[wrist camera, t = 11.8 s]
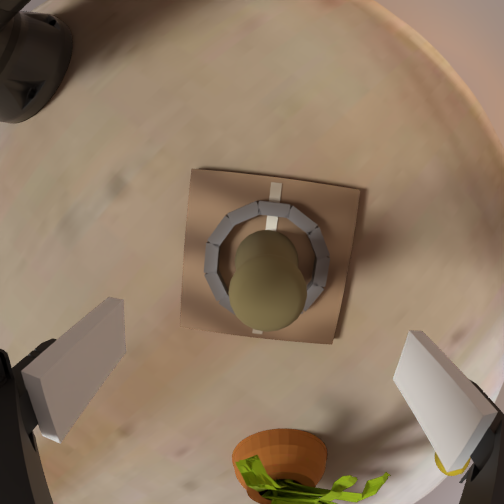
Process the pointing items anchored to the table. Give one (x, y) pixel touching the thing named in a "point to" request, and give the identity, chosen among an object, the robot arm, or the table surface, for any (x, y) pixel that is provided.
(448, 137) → the table surface
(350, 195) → the socket board
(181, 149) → the table surface
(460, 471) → the lemon
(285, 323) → the olive round stacked cylinder
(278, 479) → the decorative plant
